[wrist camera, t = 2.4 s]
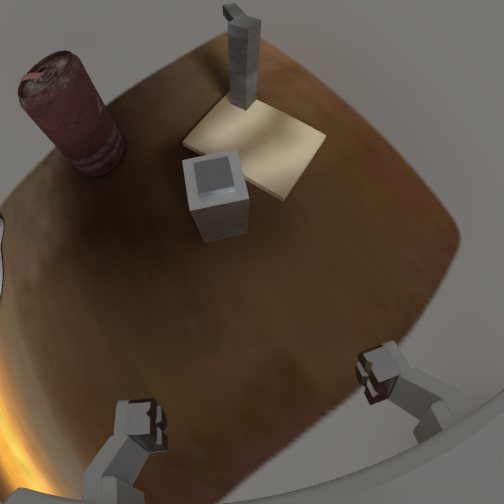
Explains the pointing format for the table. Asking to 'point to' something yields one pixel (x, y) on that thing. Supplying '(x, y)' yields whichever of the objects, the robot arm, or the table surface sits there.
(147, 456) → the robot arm
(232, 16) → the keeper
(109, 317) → the table surface
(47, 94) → the can
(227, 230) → the grey square pillar
